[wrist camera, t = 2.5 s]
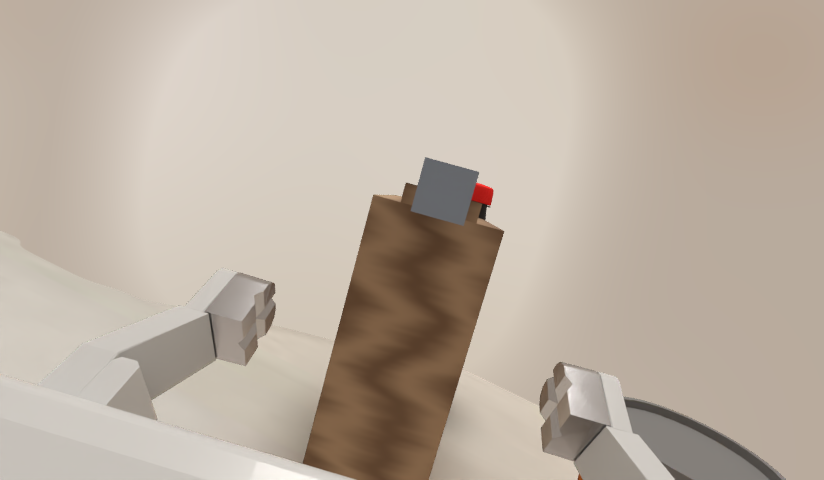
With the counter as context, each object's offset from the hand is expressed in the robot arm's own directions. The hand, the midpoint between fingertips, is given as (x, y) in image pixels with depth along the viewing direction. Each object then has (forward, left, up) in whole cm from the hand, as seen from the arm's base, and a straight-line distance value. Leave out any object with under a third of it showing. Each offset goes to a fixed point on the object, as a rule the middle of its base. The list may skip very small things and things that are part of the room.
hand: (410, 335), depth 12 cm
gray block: (0, +21, +3) cm, 22 cm away
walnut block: (0, +27, -23) cm, 36 cm away
